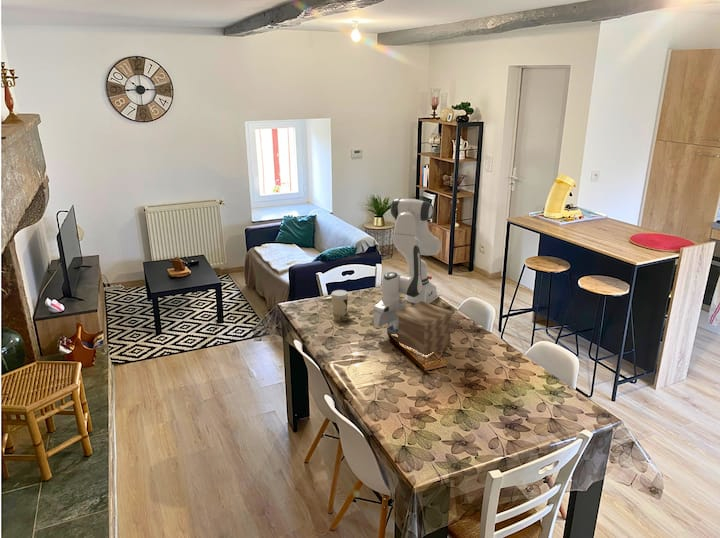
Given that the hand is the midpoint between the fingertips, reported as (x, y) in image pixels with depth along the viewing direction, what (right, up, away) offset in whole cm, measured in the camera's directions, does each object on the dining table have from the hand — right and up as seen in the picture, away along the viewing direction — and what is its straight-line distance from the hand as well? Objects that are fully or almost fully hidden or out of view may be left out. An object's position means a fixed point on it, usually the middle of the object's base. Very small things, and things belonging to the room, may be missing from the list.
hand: (389, 328), depth 285 cm
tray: (+8, -4, -7) cm, 11 cm away
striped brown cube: (+16, -7, -15) cm, 23 cm away
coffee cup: (-27, +6, +24) cm, 36 cm away
